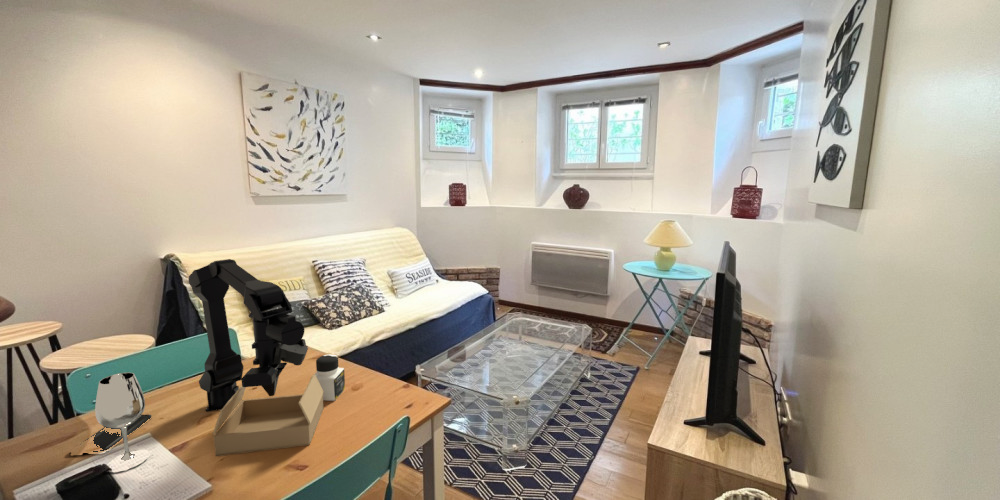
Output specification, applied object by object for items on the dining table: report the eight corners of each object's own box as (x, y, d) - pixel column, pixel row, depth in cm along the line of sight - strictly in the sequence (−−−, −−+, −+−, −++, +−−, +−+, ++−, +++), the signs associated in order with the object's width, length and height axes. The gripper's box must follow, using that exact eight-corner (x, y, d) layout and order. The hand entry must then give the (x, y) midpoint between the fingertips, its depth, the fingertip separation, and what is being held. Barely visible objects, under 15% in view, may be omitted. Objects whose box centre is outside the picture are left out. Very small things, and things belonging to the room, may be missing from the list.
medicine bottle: (335, 401, 113) (333, 362, 112) (311, 400, 114) (309, 361, 112) (345, 389, 120) (343, 352, 119) (322, 388, 121) (320, 351, 119)
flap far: (322, 392, 108) (323, 391, 108) (309, 424, 94) (310, 423, 94) (313, 374, 107) (314, 373, 107) (298, 403, 92) (300, 402, 92)
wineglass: (110, 479, 82) (97, 390, 79) (98, 465, 86) (86, 380, 83) (157, 458, 88) (147, 375, 85) (144, 445, 92) (134, 366, 89)
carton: (215, 456, 89) (213, 436, 89) (243, 417, 105) (242, 399, 104) (309, 444, 94) (308, 425, 93) (323, 408, 109) (322, 392, 109)
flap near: (214, 434, 89) (212, 434, 89) (241, 400, 103) (239, 399, 103) (222, 410, 89) (220, 410, 88) (248, 379, 103) (246, 379, 103)
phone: (153, 414, 104) (104, 450, 89) (154, 418, 104) (105, 455, 89) (120, 415, 103) (65, 453, 88) (121, 419, 103) (66, 457, 88)
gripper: (293, 349, 88) (296, 412, 91) (312, 322, 106) (315, 375, 109) (238, 352, 86) (243, 417, 88) (267, 324, 104) (271, 379, 106)
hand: (272, 395), depth 98 cm, fingers closed
